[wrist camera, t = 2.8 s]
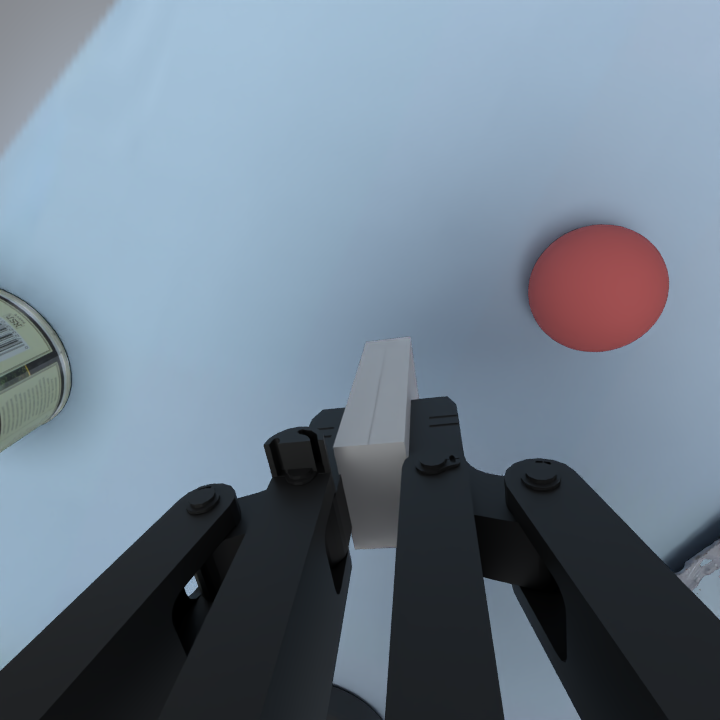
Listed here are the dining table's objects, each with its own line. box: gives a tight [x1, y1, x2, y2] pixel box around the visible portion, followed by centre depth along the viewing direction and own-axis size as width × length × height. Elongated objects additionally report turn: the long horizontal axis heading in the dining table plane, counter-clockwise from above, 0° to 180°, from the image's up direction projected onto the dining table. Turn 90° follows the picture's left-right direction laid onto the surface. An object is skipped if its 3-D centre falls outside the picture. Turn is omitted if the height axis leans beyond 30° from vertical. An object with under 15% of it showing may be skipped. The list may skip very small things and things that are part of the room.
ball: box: [528, 224, 669, 352], centre depth 23 cm, size 6×6×6 cm
